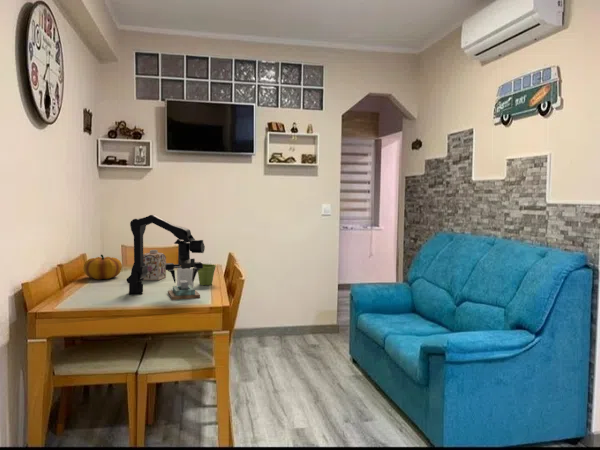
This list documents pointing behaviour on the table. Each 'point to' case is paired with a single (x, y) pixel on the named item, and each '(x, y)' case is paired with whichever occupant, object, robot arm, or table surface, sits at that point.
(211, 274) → the plant pot
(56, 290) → the table surface
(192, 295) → the well board
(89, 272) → the decorative pumpkin
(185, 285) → the silver metal block
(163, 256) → the decorative jar
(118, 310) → the table surface
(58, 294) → the table surface
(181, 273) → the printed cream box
